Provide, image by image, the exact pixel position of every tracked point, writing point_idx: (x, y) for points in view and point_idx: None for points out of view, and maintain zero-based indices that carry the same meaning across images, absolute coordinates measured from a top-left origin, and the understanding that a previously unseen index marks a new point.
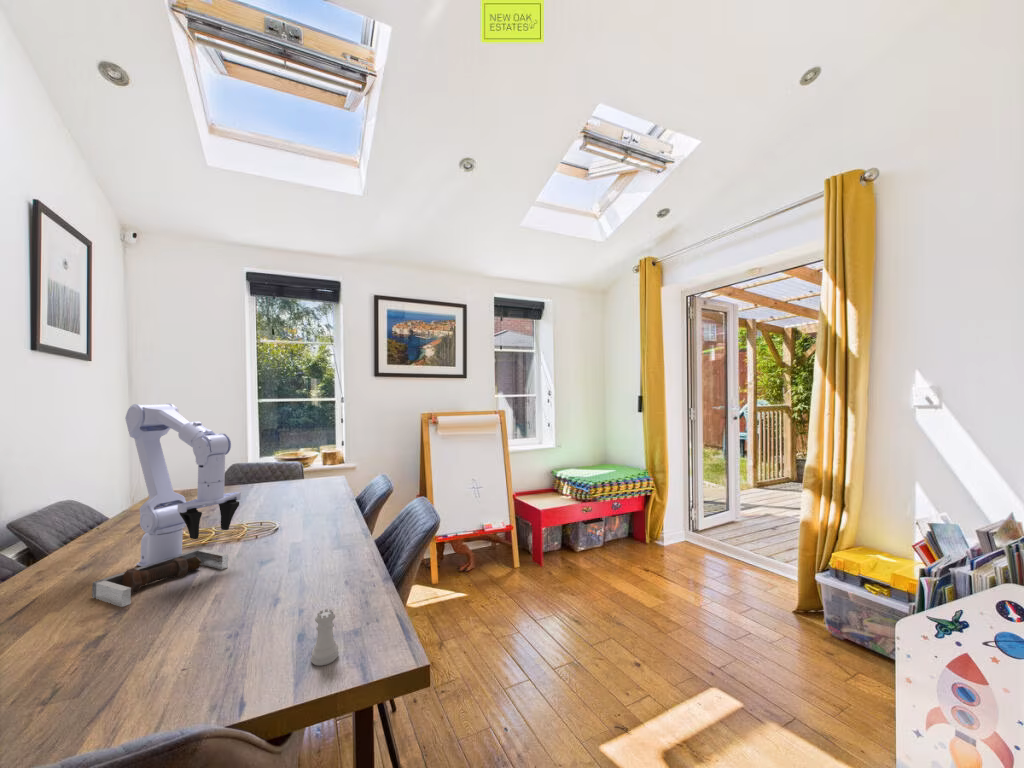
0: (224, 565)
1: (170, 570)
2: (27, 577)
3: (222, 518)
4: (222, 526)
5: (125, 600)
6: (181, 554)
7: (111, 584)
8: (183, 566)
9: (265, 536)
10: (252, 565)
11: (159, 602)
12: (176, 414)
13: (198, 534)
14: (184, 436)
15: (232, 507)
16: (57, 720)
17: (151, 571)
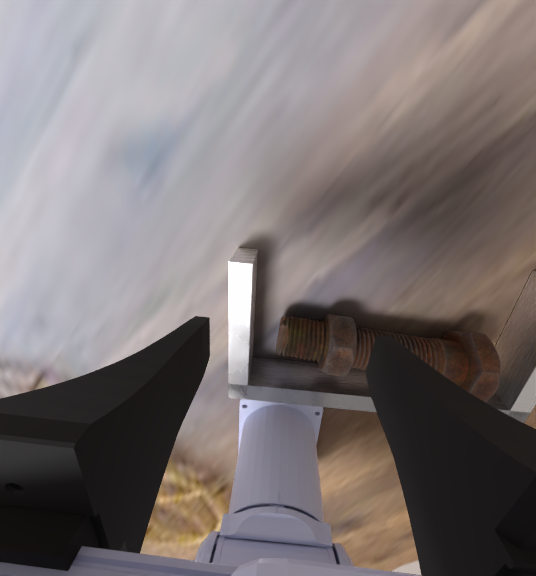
0: (248, 251)
1: (375, 337)
2: (404, 555)
3: (183, 404)
4: (204, 359)
5: None
6: (289, 399)
7: None
8: (345, 325)
9: (18, 362)
10: (190, 175)
11: (521, 196)
12: None
13: (389, 344)
14: None
15: (98, 404)
16: None
17: (426, 361)
